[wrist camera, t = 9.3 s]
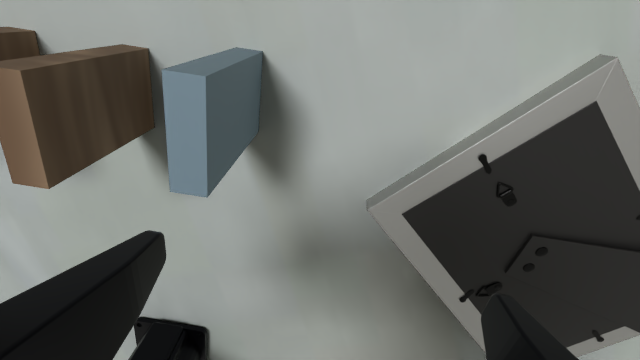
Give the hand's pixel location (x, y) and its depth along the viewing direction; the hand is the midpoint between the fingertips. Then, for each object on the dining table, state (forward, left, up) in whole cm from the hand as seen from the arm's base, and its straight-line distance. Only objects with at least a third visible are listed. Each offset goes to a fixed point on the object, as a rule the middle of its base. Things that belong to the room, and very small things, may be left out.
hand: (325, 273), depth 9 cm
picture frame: (-7, -16, -15) cm, 23 cm away
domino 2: (+1, +6, -14) cm, 15 cm away
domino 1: (0, +13, -14) cm, 19 cm away
